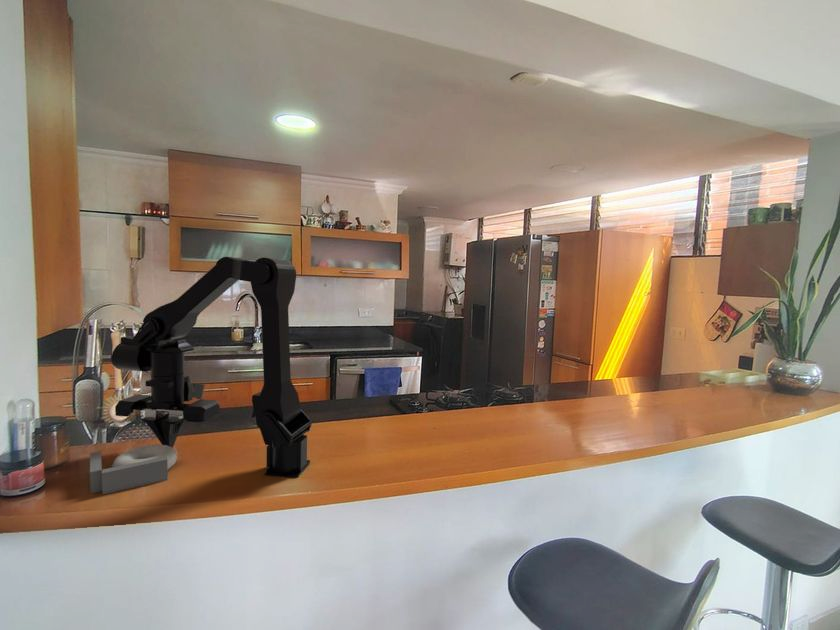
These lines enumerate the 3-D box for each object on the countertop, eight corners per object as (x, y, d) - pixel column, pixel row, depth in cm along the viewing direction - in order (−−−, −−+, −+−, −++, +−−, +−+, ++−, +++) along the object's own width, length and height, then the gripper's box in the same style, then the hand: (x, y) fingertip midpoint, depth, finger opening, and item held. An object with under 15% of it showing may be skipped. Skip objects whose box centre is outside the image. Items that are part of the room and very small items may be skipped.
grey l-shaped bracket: (172, 478, 72) (171, 456, 72) (138, 500, 65) (138, 476, 64) (96, 471, 73) (95, 450, 73) (55, 492, 66) (54, 469, 66)
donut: (186, 450, 76) (123, 470, 68) (187, 468, 76) (124, 489, 68) (163, 437, 81) (102, 453, 73) (164, 453, 82) (103, 472, 74)
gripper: (234, 367, 87) (235, 437, 88) (155, 362, 89) (157, 431, 90) (201, 380, 76) (202, 459, 77) (111, 374, 78) (114, 451, 79)
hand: (169, 449), depth 81 cm, fingers closed
